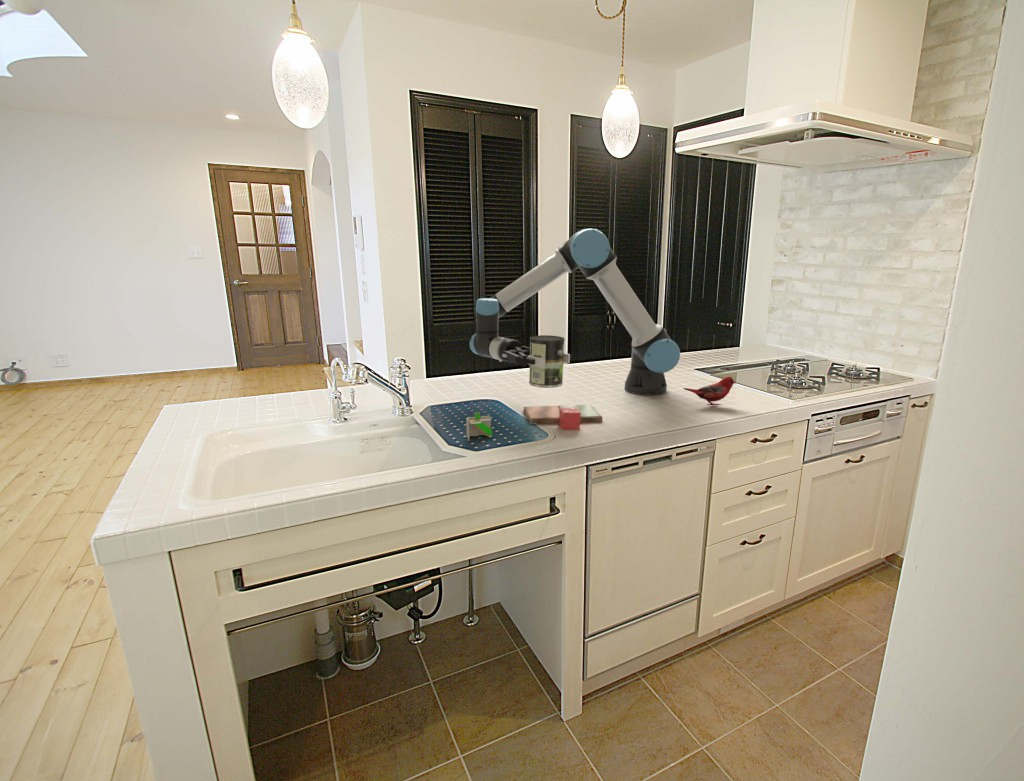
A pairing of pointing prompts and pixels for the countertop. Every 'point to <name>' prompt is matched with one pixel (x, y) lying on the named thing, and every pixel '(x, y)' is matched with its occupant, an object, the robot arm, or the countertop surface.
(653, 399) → the countertop surface
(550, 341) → the coffee can
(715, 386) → the decorative bird figurine
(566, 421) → the red cube
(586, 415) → the green brown wooden board
